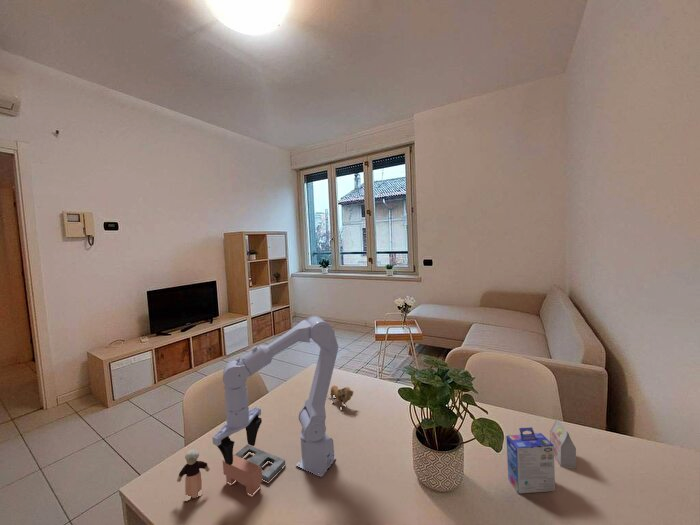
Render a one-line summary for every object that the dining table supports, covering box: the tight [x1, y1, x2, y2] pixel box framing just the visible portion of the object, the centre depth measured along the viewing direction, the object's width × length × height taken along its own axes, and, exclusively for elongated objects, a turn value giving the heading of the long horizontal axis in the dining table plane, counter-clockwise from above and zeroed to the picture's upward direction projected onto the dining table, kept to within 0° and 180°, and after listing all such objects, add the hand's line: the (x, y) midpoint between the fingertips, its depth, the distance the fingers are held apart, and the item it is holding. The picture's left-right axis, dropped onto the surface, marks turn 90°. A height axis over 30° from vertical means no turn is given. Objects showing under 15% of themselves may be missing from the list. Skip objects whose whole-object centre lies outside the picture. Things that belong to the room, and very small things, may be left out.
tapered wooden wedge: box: [222, 453, 263, 495], centre depth 79 cm, size 12×3×6 cm, turn 62°
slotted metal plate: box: [234, 444, 286, 482], centre depth 86 cm, size 16×7×2 cm, turn 62°
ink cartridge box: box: [505, 426, 556, 494], centre depth 74 cm, size 10×6×14 cm, turn 92°
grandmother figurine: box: [176, 448, 211, 499], centre depth 76 cm, size 8×4×13 cm, turn 126°
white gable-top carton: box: [549, 418, 577, 469], centre depth 83 cm, size 4×7×10 cm, turn 166°
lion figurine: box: [330, 385, 354, 408], centre depth 117 cm, size 15×5×9 cm, turn 45°
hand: (240, 453), depth 78 cm, fingers open, 7 cm apart
